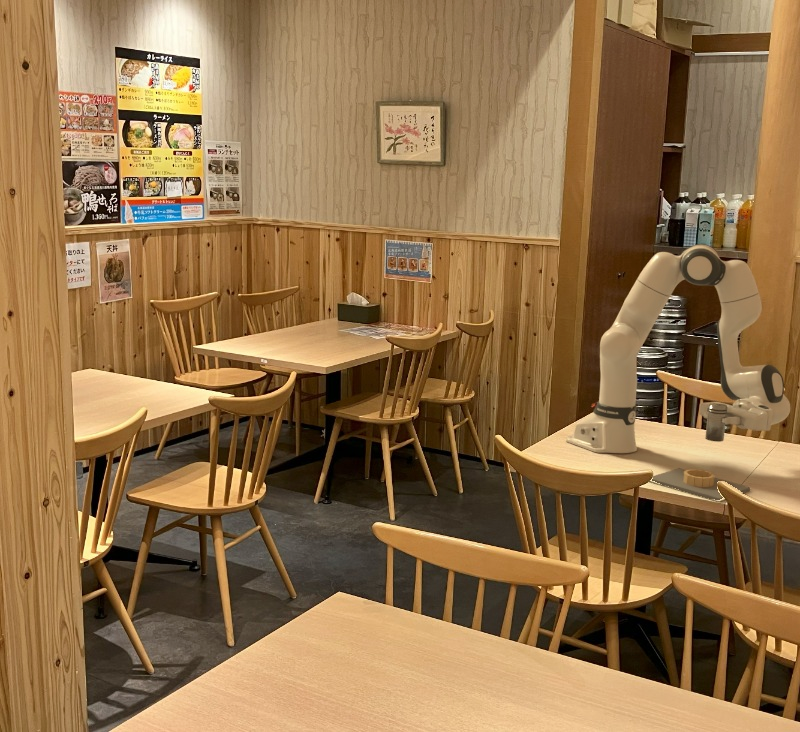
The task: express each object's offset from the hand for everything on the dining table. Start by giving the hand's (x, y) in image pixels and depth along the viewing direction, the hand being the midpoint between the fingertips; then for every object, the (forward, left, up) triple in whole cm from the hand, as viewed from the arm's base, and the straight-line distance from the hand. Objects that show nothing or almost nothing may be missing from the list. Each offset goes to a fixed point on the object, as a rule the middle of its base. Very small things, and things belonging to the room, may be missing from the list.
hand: (714, 418), depth 275 cm
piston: (0, +1, -6) cm, 6 cm away
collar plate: (+4, -13, -17) cm, 21 cm away
